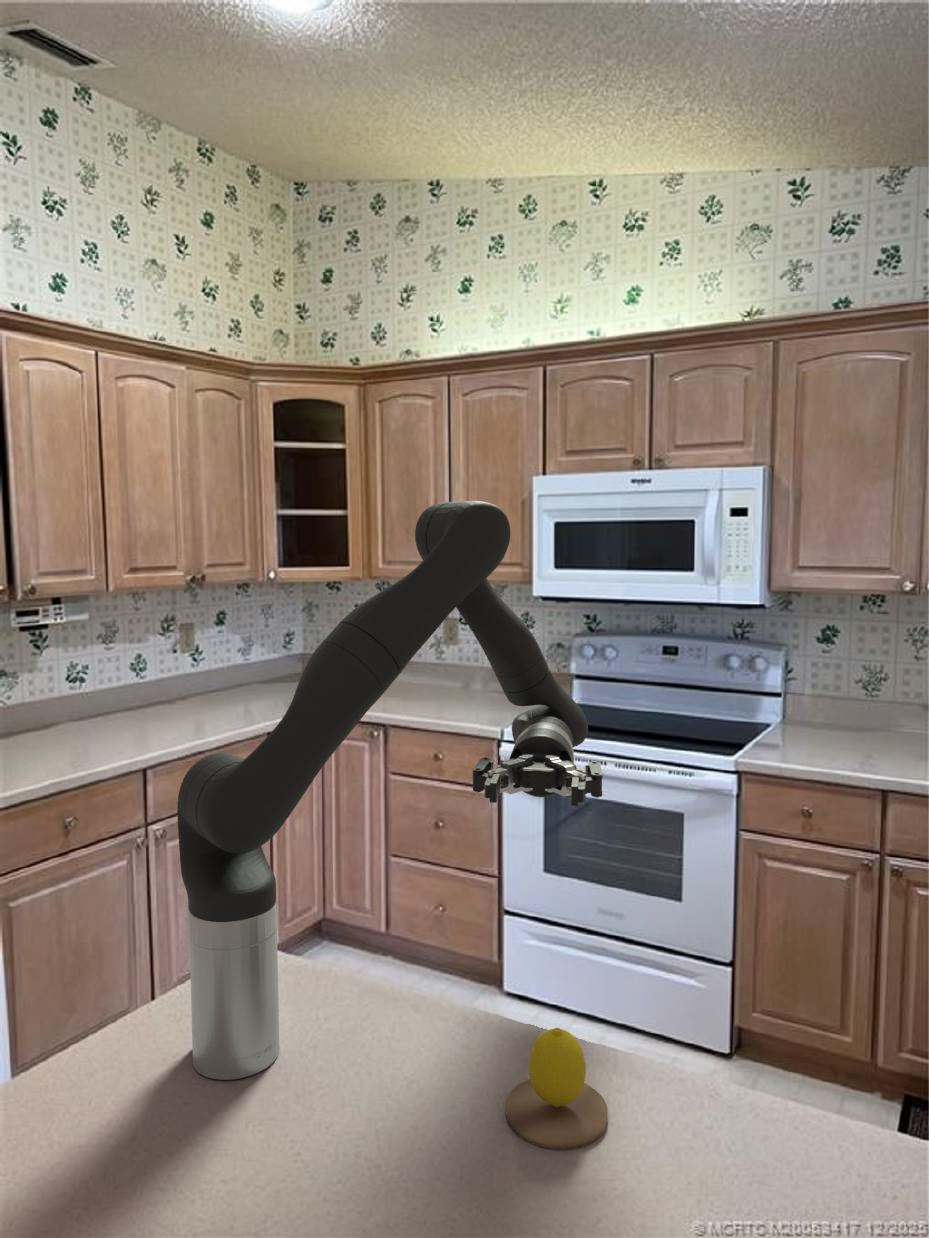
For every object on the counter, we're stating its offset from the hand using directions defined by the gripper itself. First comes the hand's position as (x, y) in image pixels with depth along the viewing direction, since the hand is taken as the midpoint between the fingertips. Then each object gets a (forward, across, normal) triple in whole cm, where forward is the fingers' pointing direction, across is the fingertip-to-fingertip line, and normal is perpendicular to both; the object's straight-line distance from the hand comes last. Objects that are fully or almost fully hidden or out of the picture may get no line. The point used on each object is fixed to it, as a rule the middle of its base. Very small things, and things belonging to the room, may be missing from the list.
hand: (533, 795), depth 90 cm
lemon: (+7, +3, +29) cm, 30 cm away
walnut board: (+7, +3, +30) cm, 31 cm away
